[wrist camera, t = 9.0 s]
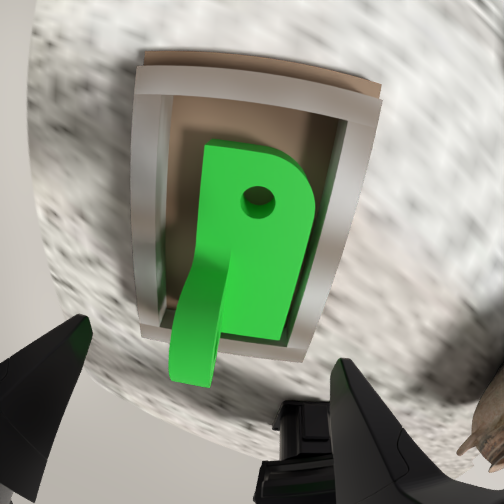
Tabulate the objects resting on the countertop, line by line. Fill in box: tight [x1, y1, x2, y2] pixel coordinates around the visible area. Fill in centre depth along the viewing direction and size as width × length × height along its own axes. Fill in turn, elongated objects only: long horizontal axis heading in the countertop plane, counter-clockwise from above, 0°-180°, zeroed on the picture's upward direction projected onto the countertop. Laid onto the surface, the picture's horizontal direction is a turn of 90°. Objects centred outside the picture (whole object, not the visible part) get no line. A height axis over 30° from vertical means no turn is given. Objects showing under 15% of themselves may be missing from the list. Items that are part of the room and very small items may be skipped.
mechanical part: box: [169, 139, 315, 388], centre depth 15 cm, size 12×6×8 cm, turn 171°
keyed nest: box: [130, 51, 383, 363], centre depth 18 cm, size 20×13×3 cm, turn 172°
